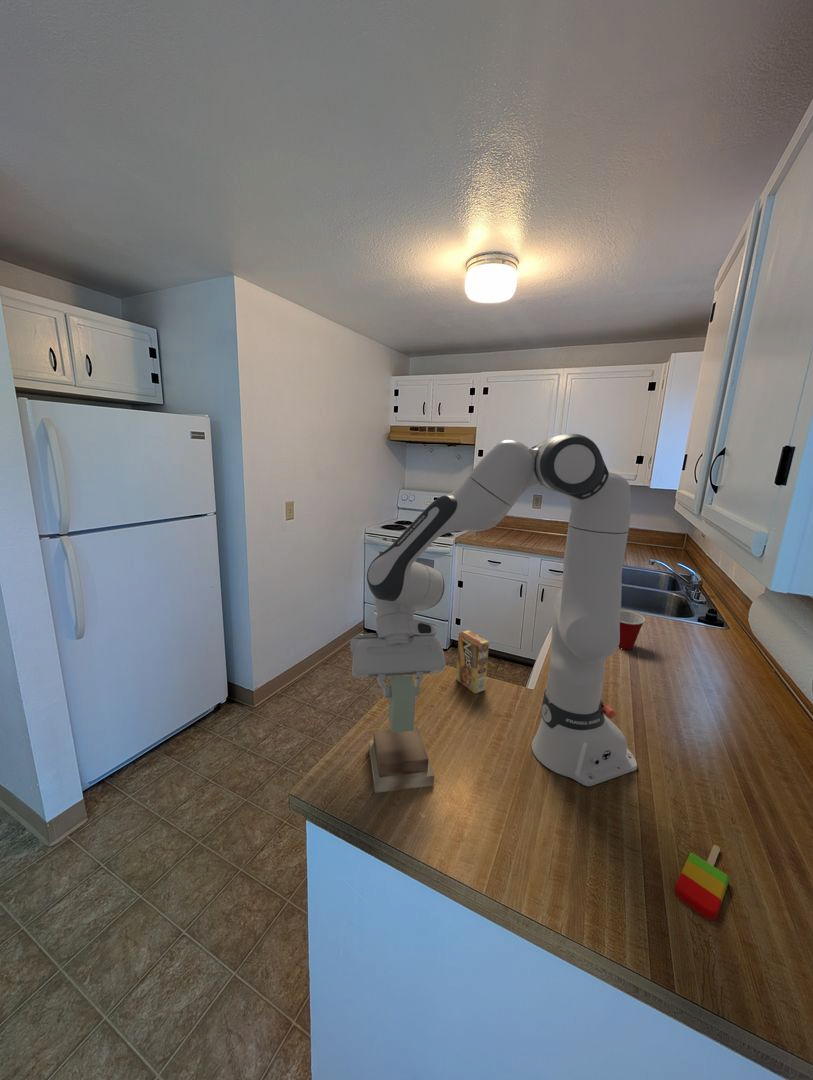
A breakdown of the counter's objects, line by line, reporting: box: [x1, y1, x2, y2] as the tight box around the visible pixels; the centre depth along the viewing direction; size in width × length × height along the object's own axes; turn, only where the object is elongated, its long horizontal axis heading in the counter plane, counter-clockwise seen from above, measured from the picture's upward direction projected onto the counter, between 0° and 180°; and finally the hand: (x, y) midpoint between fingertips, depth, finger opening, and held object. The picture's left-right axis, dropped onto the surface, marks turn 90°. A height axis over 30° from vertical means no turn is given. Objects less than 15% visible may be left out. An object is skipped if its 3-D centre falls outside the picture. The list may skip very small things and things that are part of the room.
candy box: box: [455, 629, 490, 695], centre depth 118 cm, size 9×4×15 cm, turn 33°
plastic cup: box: [618, 610, 646, 651], centre depth 147 cm, size 11×11×12 cm
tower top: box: [372, 726, 430, 777], centre depth 87 cm, size 10×10×3 cm
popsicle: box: [674, 844, 730, 921], centre depth 67 cm, size 6×15×2 cm, turn 132°
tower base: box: [368, 736, 435, 794], centre depth 87 cm, size 12×12×3 cm
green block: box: [388, 675, 417, 733], centre depth 85 cm, size 4×4×10 cm
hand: (401, 696), depth 85 cm, fingers closed on green block, 4 cm apart
